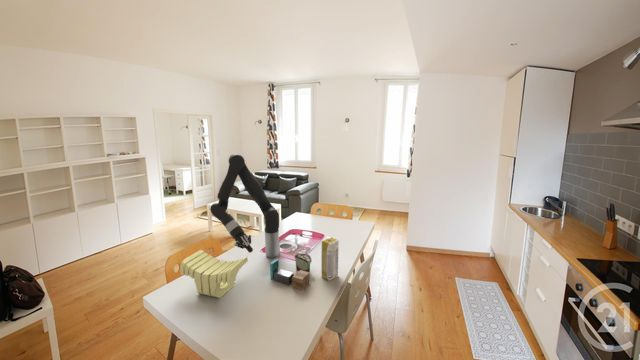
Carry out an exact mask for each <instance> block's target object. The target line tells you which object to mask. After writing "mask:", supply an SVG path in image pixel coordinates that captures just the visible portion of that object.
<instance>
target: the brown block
mask: <svg viewBox="0 0 640 360" xmlns="http://www.w3.org/2000/svg"><path fill="white" fill-rule="evenodd" d="M310 277H311V276H310V273H309V272H306V271H302V270H300V271H297V272H296V273H294V276H293V282H292V289H294V290H296V291H300V292H303V291H305V289H306V288H308V286H309V285H310V284H311V283H310V282H311V281H310Z"/></svg>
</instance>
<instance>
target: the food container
mask: <svg viewBox="0 0 640 360" xmlns="http://www.w3.org/2000/svg"><path fill="white" fill-rule="evenodd" d="M294 258H295V259H294V260H295V267H296V268H295V270H296V271H297V272H298V271H300V270H302V271H306V272H309V273H310V272H311V263H312V262H313V261H312V257H311V255H309V254H307V253H297V254H294Z"/></svg>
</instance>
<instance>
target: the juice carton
mask: <svg viewBox="0 0 640 360" xmlns="http://www.w3.org/2000/svg"><path fill="white" fill-rule="evenodd" d="M320 260H321V262H320V263H321V267H320V268H321V271H320V273H321V278H323V279H325V280H327V281H328V282H330V281H331V280H333V279H335V278H337V277H339V240H338V239H336V238H334V237H330V236H327V237H325V239H322V240H321V259H320Z"/></svg>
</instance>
